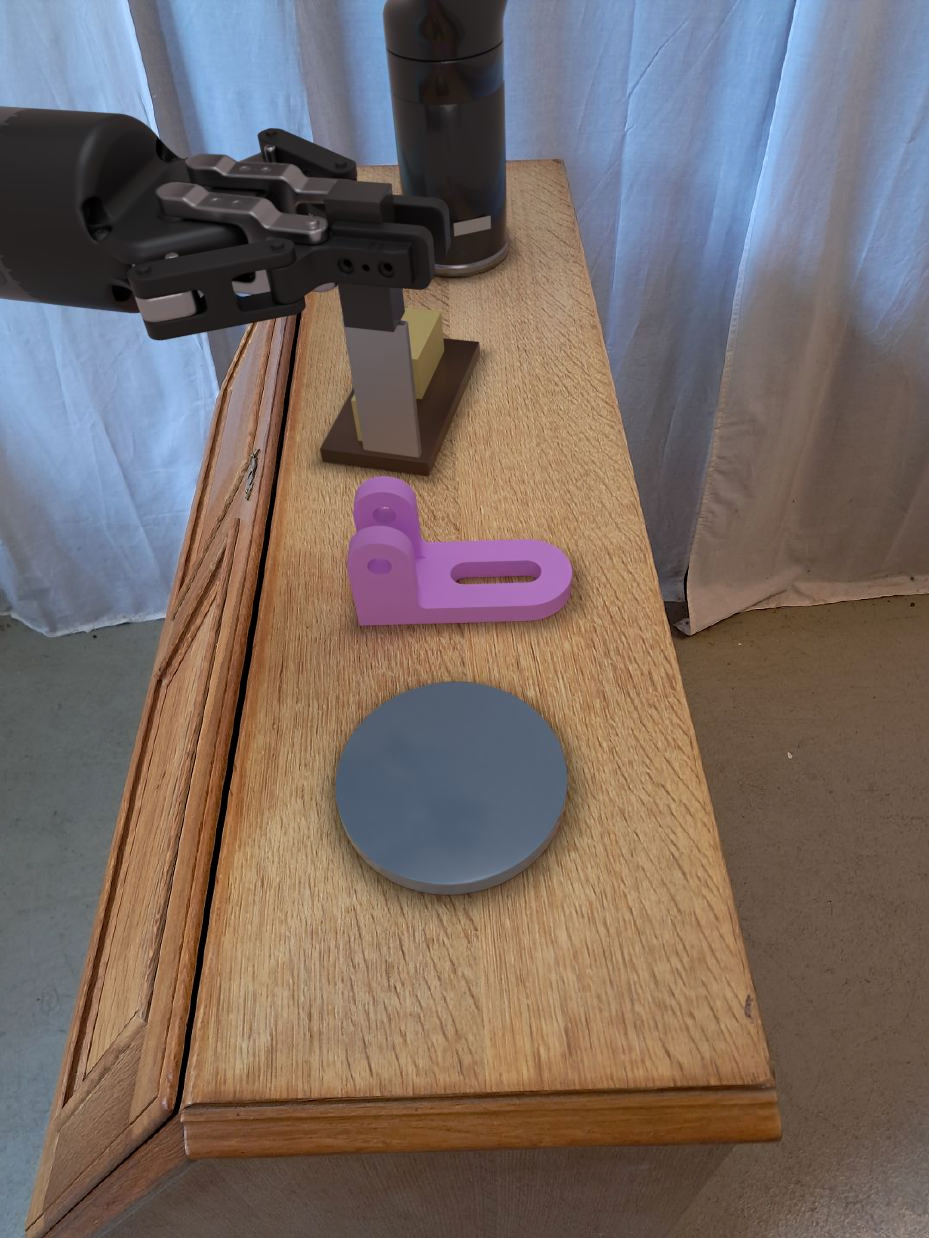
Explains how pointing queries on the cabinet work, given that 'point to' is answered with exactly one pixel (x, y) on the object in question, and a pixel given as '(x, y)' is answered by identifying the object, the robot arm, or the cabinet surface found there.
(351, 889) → the cabinet surface
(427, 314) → the butter
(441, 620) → the bracket
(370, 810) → the plate
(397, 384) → the knife
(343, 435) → the board
